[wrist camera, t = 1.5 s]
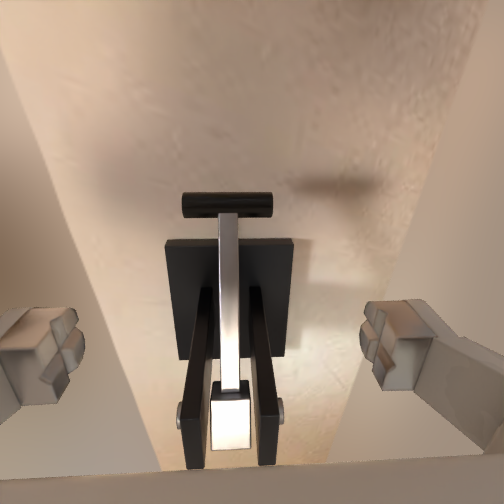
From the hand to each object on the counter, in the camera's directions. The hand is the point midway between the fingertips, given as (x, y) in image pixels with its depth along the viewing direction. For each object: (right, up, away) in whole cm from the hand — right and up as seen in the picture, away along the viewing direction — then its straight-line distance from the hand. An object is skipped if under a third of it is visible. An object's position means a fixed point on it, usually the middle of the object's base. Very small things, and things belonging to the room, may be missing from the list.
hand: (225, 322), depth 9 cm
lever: (-1, -2, +10) cm, 10 cm away
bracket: (-1, -2, +19) cm, 19 cm away
